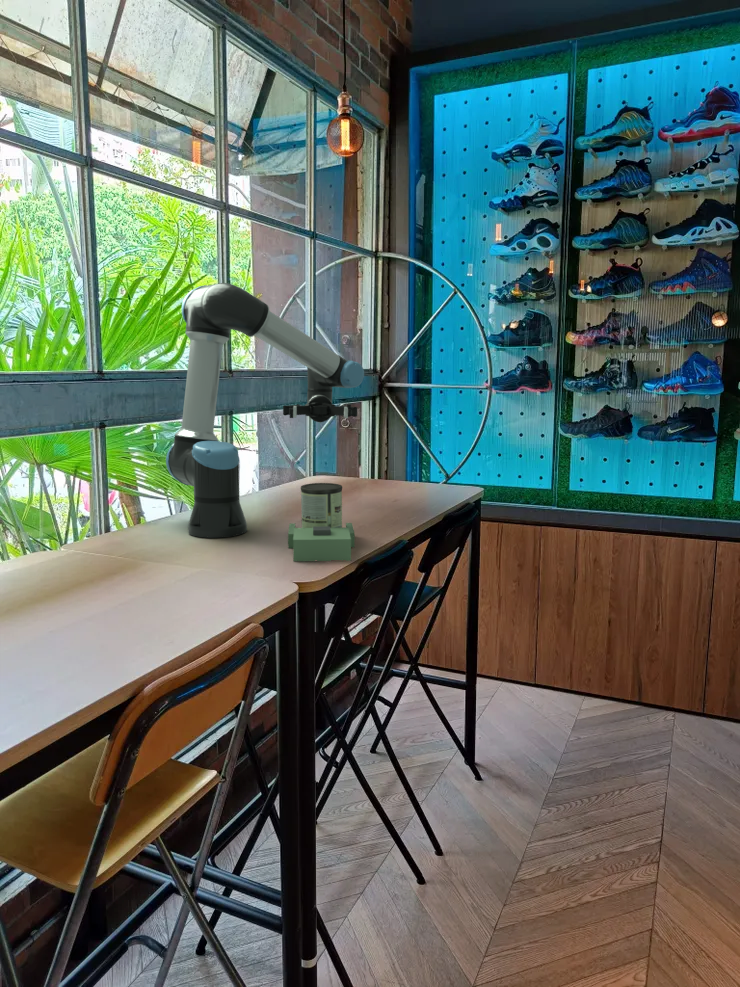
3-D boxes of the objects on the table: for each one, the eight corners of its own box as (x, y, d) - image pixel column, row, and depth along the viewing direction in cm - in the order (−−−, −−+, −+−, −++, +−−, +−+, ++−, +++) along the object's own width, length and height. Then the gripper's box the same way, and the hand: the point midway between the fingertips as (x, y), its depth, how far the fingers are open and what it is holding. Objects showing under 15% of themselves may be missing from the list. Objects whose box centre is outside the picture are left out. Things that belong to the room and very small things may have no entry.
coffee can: (305, 536, 191) (304, 482, 188) (345, 537, 190) (345, 483, 187) (297, 545, 181) (296, 489, 178) (339, 547, 180) (339, 490, 177)
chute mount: (286, 561, 166) (286, 534, 165) (289, 536, 190) (289, 513, 189) (357, 560, 168) (357, 533, 167) (351, 536, 191) (351, 512, 190)
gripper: (362, 422, 217) (367, 427, 196) (276, 420, 215) (272, 426, 194) (362, 396, 215) (368, 399, 195) (276, 394, 214) (272, 397, 193)
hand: (320, 412), depth 194 cm, fingers open, 13 cm apart
